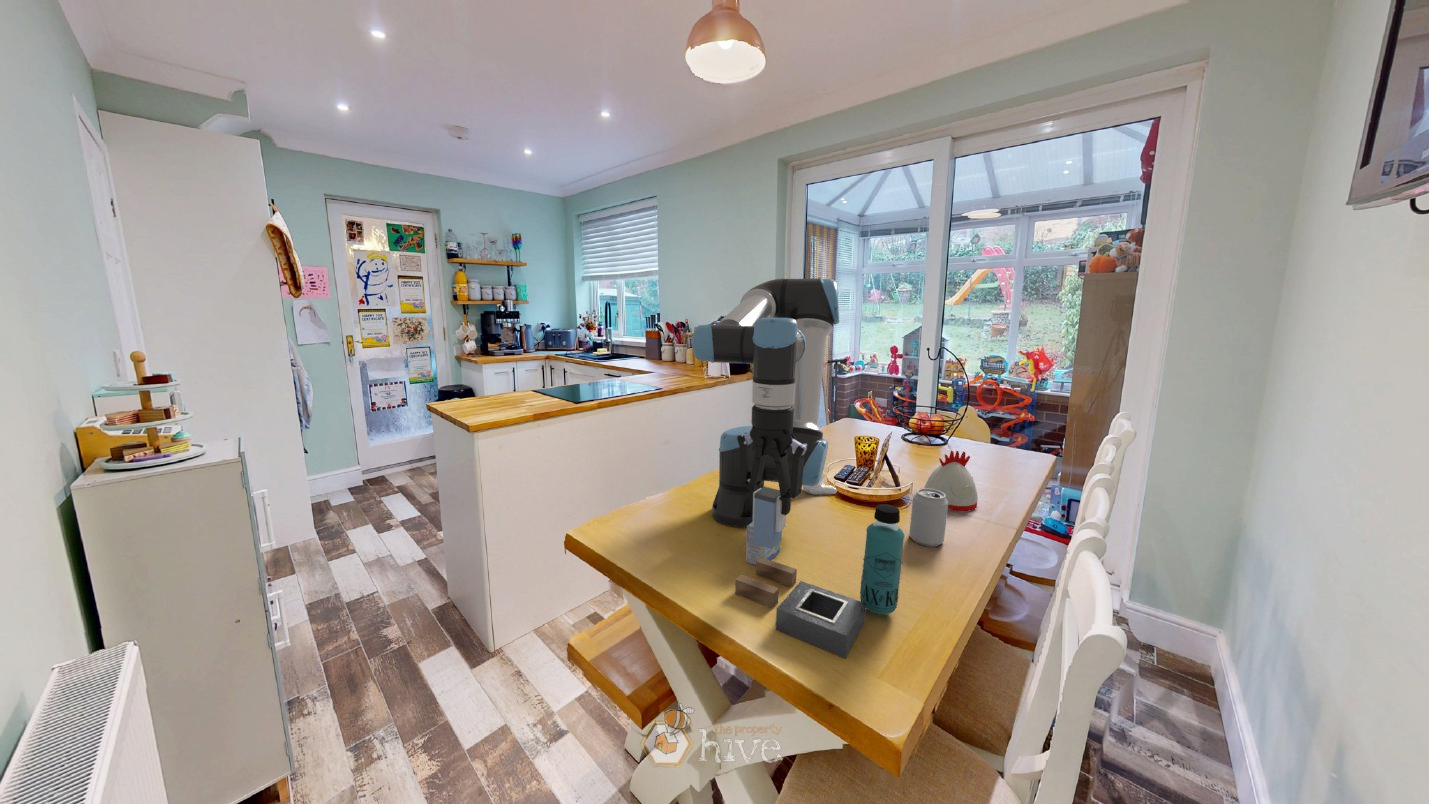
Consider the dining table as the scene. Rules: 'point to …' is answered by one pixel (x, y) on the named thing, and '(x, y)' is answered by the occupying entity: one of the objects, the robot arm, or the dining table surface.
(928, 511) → the can
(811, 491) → the seated beast figurine
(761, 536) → the plug
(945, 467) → the red crested white hat
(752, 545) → the medicine box
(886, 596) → the beverage bottle
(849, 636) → the port
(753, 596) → the pair of wooden blocks
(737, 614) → the dining table surface
